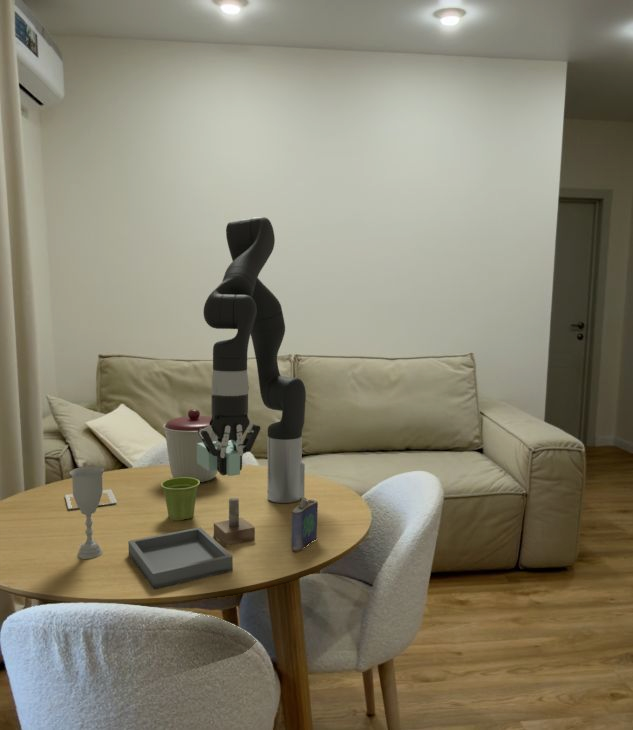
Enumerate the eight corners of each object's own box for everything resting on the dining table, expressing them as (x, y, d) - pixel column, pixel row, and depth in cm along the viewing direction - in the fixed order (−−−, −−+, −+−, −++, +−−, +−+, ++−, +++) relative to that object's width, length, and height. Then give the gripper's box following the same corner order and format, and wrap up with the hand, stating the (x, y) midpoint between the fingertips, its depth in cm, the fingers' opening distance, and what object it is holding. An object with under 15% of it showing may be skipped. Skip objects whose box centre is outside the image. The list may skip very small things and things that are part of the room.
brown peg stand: (241, 530, 146) (241, 492, 145) (254, 540, 140) (254, 501, 139) (213, 535, 143) (213, 497, 142) (225, 546, 137) (225, 506, 136)
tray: (200, 540, 140) (200, 527, 140) (232, 570, 125) (232, 556, 124) (128, 554, 132) (128, 541, 132) (153, 589, 117) (153, 574, 116)
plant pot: (191, 525, 149) (191, 489, 148) (154, 521, 151) (154, 487, 150) (206, 511, 158) (205, 478, 157) (171, 508, 160) (170, 476, 159)
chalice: (78, 547, 136) (75, 466, 133) (110, 546, 136) (108, 466, 134) (68, 561, 128) (64, 476, 126) (101, 560, 129) (99, 475, 127)
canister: (163, 471, 193) (162, 404, 191) (222, 468, 197) (221, 403, 195) (163, 489, 176) (162, 416, 173) (228, 485, 180) (227, 413, 178)
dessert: (117, 506, 163) (116, 488, 163) (68, 513, 158) (67, 494, 157) (111, 493, 174) (110, 476, 173) (64, 498, 169) (64, 481, 168)
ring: (226, 459, 141) (226, 440, 140) (250, 473, 130) (250, 452, 130) (196, 463, 137) (197, 443, 137) (218, 477, 126) (218, 455, 126)
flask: (298, 553, 134) (299, 504, 132) (287, 550, 135) (287, 502, 134) (319, 538, 142) (320, 493, 140) (308, 536, 143) (308, 491, 142)
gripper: (252, 387, 135) (252, 465, 137) (191, 391, 128) (191, 473, 130) (268, 392, 129) (267, 473, 131) (204, 396, 122) (204, 482, 124)
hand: (229, 473), depth 130 cm, fingers closed on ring, 2 cm apart
